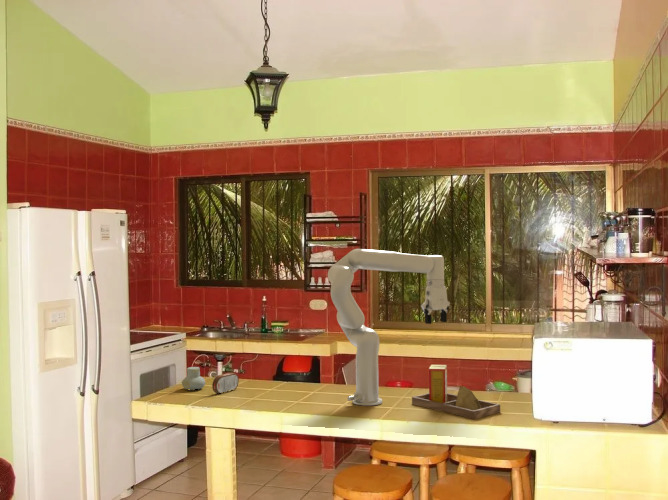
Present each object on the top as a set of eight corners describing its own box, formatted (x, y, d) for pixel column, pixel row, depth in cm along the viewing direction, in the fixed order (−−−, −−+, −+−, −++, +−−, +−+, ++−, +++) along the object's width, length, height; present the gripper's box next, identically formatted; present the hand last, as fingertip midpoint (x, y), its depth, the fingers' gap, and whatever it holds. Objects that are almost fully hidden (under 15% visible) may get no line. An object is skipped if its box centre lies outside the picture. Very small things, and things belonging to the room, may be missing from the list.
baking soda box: (445, 407, 285) (444, 368, 285) (429, 406, 287) (428, 367, 286) (447, 401, 294) (446, 364, 294) (431, 401, 296) (431, 363, 296)
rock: (485, 403, 281) (461, 397, 286) (484, 389, 276) (460, 384, 280) (478, 424, 274) (453, 418, 278) (476, 410, 269) (451, 404, 273)
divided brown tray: (474, 419, 266) (474, 411, 266) (412, 404, 291) (411, 396, 291) (500, 412, 276) (500, 404, 276) (438, 397, 301) (437, 391, 301)
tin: (235, 388, 326) (234, 370, 326) (240, 389, 324) (239, 371, 324) (211, 394, 314) (211, 376, 314) (216, 395, 312) (216, 377, 312)
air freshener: (179, 388, 328) (179, 367, 327) (195, 386, 333) (194, 365, 333) (192, 392, 320) (191, 370, 319) (207, 389, 325) (207, 368, 325)
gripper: (428, 285, 295) (428, 325, 296) (455, 282, 306) (455, 321, 307) (415, 284, 301) (415, 323, 301) (442, 282, 312) (442, 320, 312)
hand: (435, 322), depth 304 cm, fingers open, 9 cm apart
